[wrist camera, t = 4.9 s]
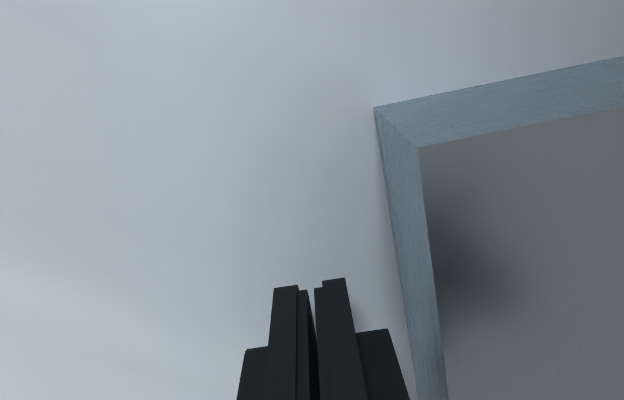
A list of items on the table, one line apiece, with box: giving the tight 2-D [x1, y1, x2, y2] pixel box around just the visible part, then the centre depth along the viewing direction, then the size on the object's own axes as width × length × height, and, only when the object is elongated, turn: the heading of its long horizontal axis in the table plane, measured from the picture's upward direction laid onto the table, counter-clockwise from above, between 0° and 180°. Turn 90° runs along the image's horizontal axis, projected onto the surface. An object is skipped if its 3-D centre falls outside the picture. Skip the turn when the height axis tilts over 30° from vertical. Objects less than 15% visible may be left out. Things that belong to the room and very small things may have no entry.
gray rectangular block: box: [374, 56, 624, 400], centre depth 10 cm, size 10×8×4 cm
